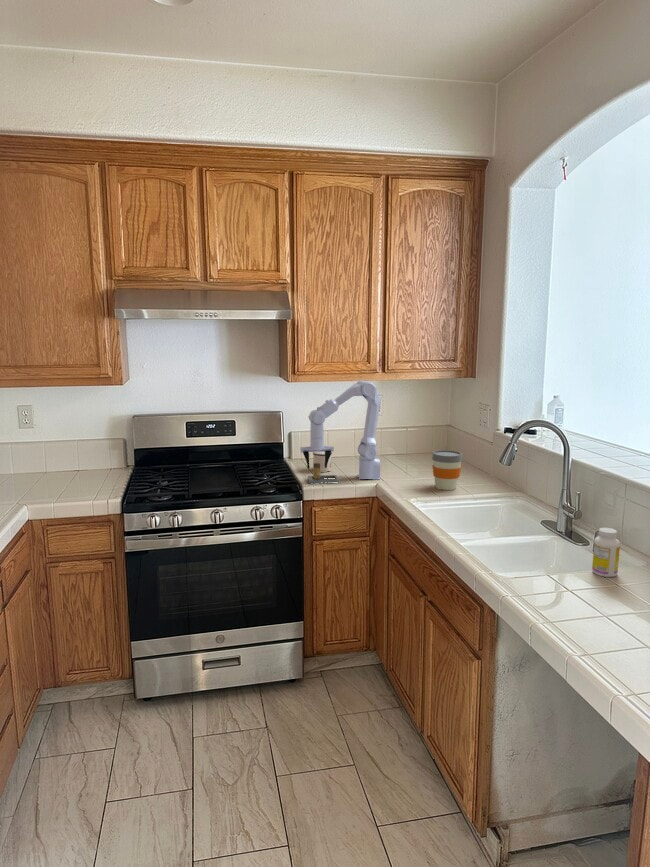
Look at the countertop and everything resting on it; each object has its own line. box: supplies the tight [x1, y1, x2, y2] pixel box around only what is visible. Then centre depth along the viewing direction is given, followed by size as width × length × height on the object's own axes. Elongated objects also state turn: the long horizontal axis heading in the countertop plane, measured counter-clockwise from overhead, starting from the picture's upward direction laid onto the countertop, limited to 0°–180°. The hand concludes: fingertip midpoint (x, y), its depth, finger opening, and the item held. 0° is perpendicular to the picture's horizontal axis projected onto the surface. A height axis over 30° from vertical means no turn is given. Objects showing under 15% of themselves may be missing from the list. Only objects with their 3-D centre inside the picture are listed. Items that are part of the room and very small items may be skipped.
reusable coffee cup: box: [431, 449, 463, 491], centre depth 262 cm, size 13×13×15 cm
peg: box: [312, 463, 321, 479], centre depth 271 cm, size 3×3×8 cm
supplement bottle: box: [591, 527, 621, 578], centre depth 173 cm, size 7×7×13 cm
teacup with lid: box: [312, 451, 333, 473], centre depth 292 cm, size 12×9×12 cm
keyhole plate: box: [307, 474, 340, 484], centre depth 272 cm, size 13×8×2 cm, turn 97°
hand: (317, 467), depth 271 cm, fingers open, 7 cm apart
